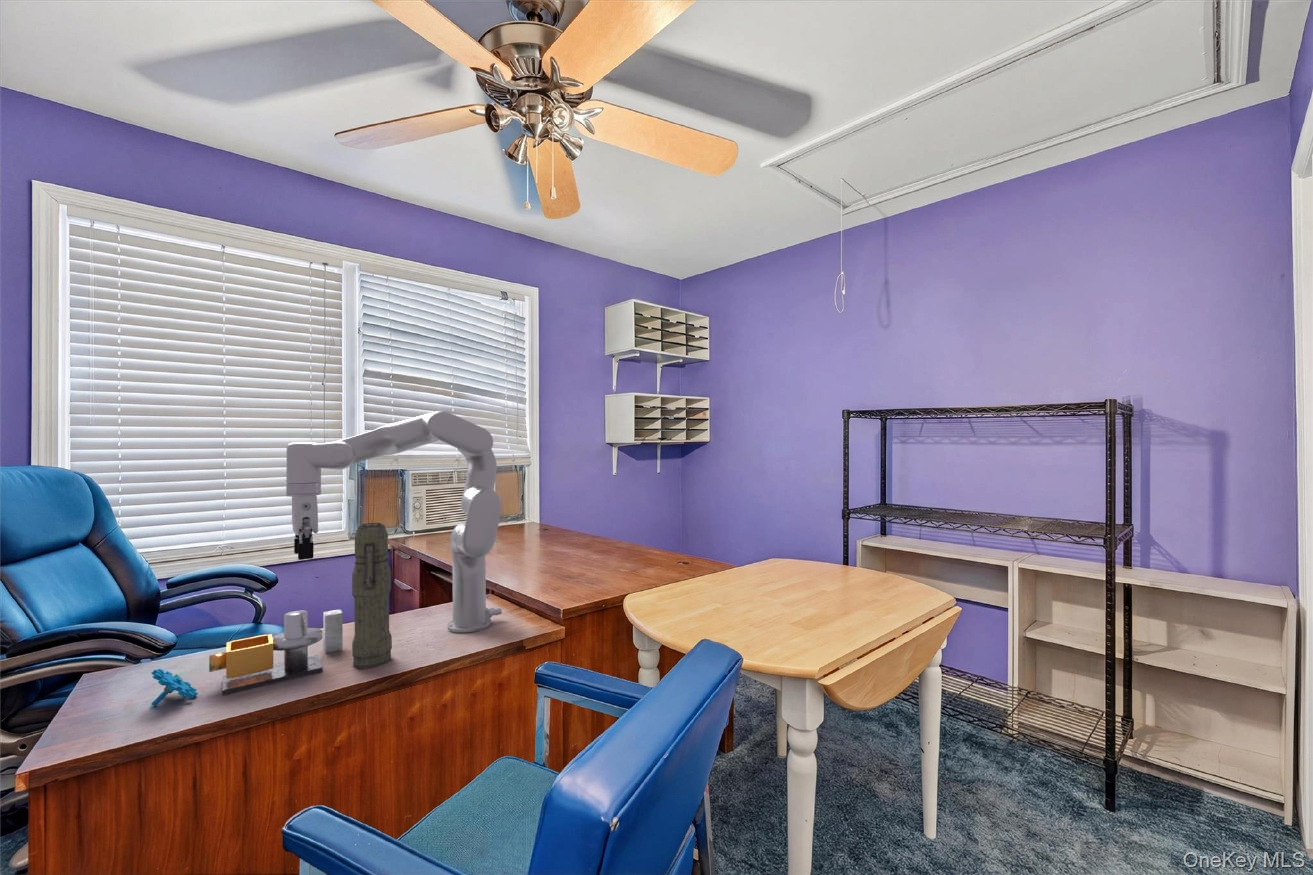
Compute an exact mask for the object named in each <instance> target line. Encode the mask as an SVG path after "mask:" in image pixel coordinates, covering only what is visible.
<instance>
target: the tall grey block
mask: <svg viewBox="0 0 1313 875" xmlns="http://www.w3.org/2000/svg"><path fill="white" fill-rule="evenodd" d="M322 615H323V616H322V623H323V627H322V628H323V629H322V640H323V648H322V649H323V651H324V654H329V653H334V652H339V651H343V643H344V642H343V639H344V638H343V635H344V634H343V632H344V631H343V628H344V627H343V624H344V623H343V610H341V609H334V610H329V611H323V614H322Z"/></svg>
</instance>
